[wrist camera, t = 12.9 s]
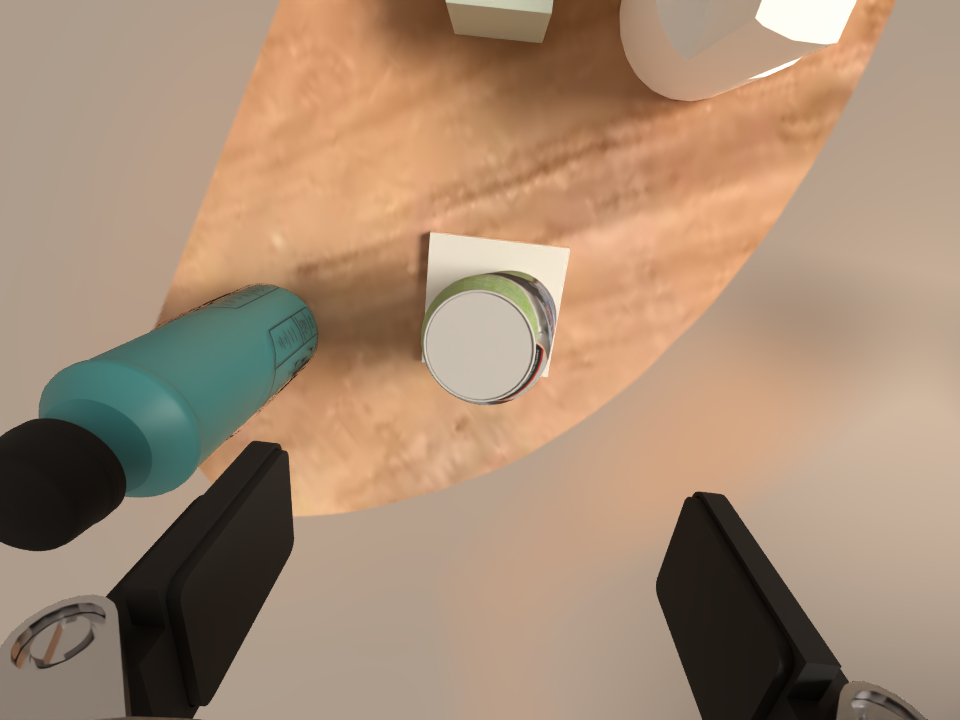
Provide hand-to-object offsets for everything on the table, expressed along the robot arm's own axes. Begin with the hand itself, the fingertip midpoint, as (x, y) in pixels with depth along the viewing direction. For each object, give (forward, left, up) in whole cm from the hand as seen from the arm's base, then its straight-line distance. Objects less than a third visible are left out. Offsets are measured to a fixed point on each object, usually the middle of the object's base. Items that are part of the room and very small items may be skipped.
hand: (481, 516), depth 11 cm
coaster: (+1, 0, -22) cm, 22 cm away
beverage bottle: (+4, -14, -22) cm, 27 cm away
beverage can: (0, +1, -22) cm, 21 cm away
